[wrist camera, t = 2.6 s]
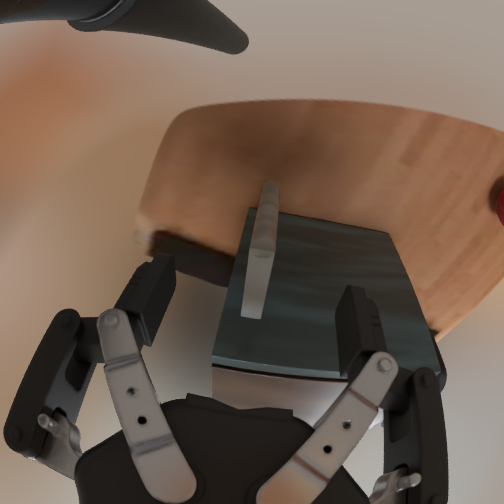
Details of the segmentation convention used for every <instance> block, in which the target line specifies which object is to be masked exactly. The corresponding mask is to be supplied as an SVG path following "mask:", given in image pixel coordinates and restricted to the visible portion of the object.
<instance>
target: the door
mask: <svg viewBox="0 0 504 504" xmlns="http://www.w3.org/2000/svg"><path fill="white" fill-rule="evenodd" d="M279 197H280V186H279V184H278V183H277V182H275V181H267V182H265V183H264V184H263V186H262V191H261V195H260V200H259V205H258V209H252V208H249V210H248V214H247V217H246V221H245V225H244V229H243V233H242V237H241V240H240V244H239V248H238V252H237V256H236V260H235V264H234V267H233V271H232V275H231V279H230V283H229V287H228V291H227V295H226V299H225V303H224V307H223V311H222V315H221V319H220V323H219V327H218V331H217V336H216V339H215V343H214V348H213V351H212V363H215V364H220V365H226V366H232V367H238V368H244V369H250V370H257V371H264V372H272V373H280V374H289V375H298V376H309V377H322V378H339V379H348V378H340V373H339V359H338V346H337V335H336V325H335V311H336V308H337V305H338V303H339V301H340V299H341V297H342V295H343V292H344V290H345V288H346V286H347V285H355V286H362V287H364V289H365V293H366V297H367V298H368V299H372V300H373V302H374V303H375V305H376V306H377V308H378V312H379V316H380V320H381V326H382V328H383V333H384V337H385V342H386V347H387V351H388V353H389V354H390V355H392V356H393V357H394V358H395V360H396V361H397V364H398V366H399V367H402V368H404V369H407V370H410V371H413V372H415V371H416V370H417V369H418V368H420V367H428V368H430V369H431V370H433V371H434V373H435V374H436V376H437V375H438V374H439V373H440V372H441V369H440V365H439V361H438V358H437V354H436V351H435V348H434V345H433V341H432V338H431V335H430V332H429V329H428V326H427V323H426V321H425V318H424V315H423V312H422V310H421V307H420V304H419V302H418V299H417V296H416V294H415V291H414V289H413V286H412V284H411V282H410V279H409V277H408V274H407V272H406V270H405V267H404V265H403V263H402V261H401V259H400V256H399V254H398V252H397V250H396V248H395V246H394V243H393V241H392V239H391V237H390V235H389V234H387V233H383V232H378V231H373V230H368V229H364V228H359V227H354V226H349V225H344V224H338V223H333V222H328V221H323V220H317V219H312V218H306V217H300V216H295V215H289V214H283V213H278V212H279Z"/></svg>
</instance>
